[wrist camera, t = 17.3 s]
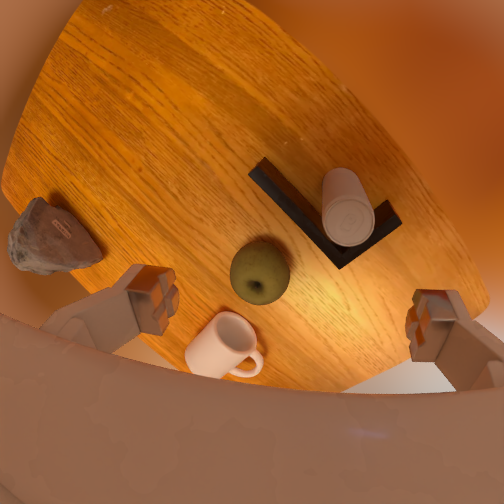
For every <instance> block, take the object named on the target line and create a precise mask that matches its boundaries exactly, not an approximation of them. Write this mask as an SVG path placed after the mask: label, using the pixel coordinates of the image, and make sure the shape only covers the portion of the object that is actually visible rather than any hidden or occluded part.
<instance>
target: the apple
mask: <svg viewBox="0 0 504 504" xmlns="http://www.w3.org/2000/svg"><path fill="white" fill-rule="evenodd" d="M289 279H290V271H289V266H288V264H287V262H286V259H285V258H284V256H283V255H282V253H281V252H280V251H279V250H278V249H277V248H276V247H275V246H274V245H272V244H270V243H267V242H253V243H250V244H247V245H245V246H244V247H242V248H241V249H240V250H239V251H238V252H237V253H236V255H235V256H234V258H233V261H232V264H231V268H230V281H231V285H232V287H233V289H234V291H235V292H236V293H237V295H238V296H239V297H241V298H242V299H243V300H245V301H246V302H248V303H251V304H254V305H266V304H270V303H272V302H274V301H276V300H277V299H279V298H280V297H281V296H282V295H283V293H284V292H285V291H286V289H287V287H288V284H289Z"/></svg>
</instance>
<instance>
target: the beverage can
mask: <svg viewBox="0 0 504 504" xmlns="http://www.w3.org/2000/svg"><path fill="white" fill-rule="evenodd" d="M322 222H323V227H324V229H325V232H326V233H327V235H328V237H329V238H330V239H331V240H332V241H334V242H335V243H336V244H339V245H342V246H348V247H349V246H356V245H359V244H361V243H363V242H364V241H366V240H367V239H368V238H369V236H370V235H371V233H372V231H373V229H374V224H375V217H374V212H373V209H372V206H371V204H370V202H369V200H368V197H367V195H366V193H365V191H364V189H363V187H362V185H361V182H360V180H359V178H358V177H357V175H356V174H355V173H354V172H352V171H351V170H349V169H347V168H335V169H333V170H331V171H329V172H328V173H327V174H326V175H325V177H324V179H323V182H322Z"/></svg>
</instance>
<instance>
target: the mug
mask: <svg viewBox="0 0 504 504" xmlns="http://www.w3.org/2000/svg"><path fill="white" fill-rule="evenodd" d="M256 346H257V337H256V334H255V331H254V329H253V328H252V326H251V325H250V324H249V322H248V321H247V320H246V319H244V318H243V317H242V316H240V315H238V314H236V313H233V312H229V311H224V312H220V313H218V314H217V315H216V316H215V317H214V318H213V319H212V320H211V321H210V322H209V323H208V324H207V325H206V327H205V328H204V329H203V330H202V331H201V332H200V333H199V334H198V335H197V336H196V337H195V338H194V340H193V341H192V342H191V343H190V344H189V345H188V346H187V348H186V351H185V360H186V363H187V365H188V367H189V369H190V370H191V371H192V372H193V373H194V374H196V375H201V376H206V377H212V378H217V379H220V378H221V377H222V376H224V375H225V374H226V373H228V372H229V373H231V374H233V375H236V376H239V377H253V376H255V375H257V374H258V373H259V372H260V371H261V369H262V367H263V357H262V355H261V354H260V353H259V352H258V351H257V350H256ZM248 356H250V357H251V358H252V359H254V361H255V362H256V364H257V366H256V367H255V368H254V369H252V370H250V371H245V370H241V369H239V368H237V367H235V366H237V365H238V364H239V363H240V362H242V361H243V360H244V359H245V358H247V357H248Z"/></svg>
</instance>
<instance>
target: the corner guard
mask: <svg viewBox="0 0 504 504" xmlns="http://www.w3.org/2000/svg"><path fill="white" fill-rule="evenodd" d="M248 175H249V176H250V177H251V178H252V179H253V180H254V181H255V182H256V183H257V184H258V185H259V186H260V187H261V188H262V189H263V190H264V191H265V192H266V193H267V194H268V195H269V196H270V197H271V198H272V199H273V200H274V202H275V203H276V204H277V205H278V206H279V207H280V208H281V209H282V210H283V211H284V212H285V213H286V214H287V215H288V216H289V217H290V218H291V219H292V220H293V221H294V222H295V223H296V224H297V225H298V226H299V227H300V228H301V229H302V230H303V231H304V233H305V234H306V235H307V236H308V237H309V238H310V239H311V240H312V241H313V242H314V243H315V244H316V245H317V246H318V247H319V248H320V249H321V251H322V252H323V253H324V254H325V255H326V256H327V257H328V258H329V259H330V260H331V261H332V262H333V264H334V265H335V266H336V267H337V268H338V269H339V270H340V269H341V268H343V267H344V266H345V265H347V264H348V263H350V262H351V261H352V260H354V259H355V258H357V257H358V256H359V255H361V254H362V253H364V252H365V251H366V250H368V249H369V248H370V247H372V246H373V245H375V244H376V243H377V242H379V241H380V240H381V239H383V238H384V237H385V236H387V235H388V234H389V233H391V232H392V231H393V230H395V229H396V228H397V227H399V226H400V225H401V224H402V221H401V220H400V218H399V216H398V214H397V213H396V211H395V209H394V208H393V206H392V205H391V204H390V202H389V201H388V200H386V201H385V202H383V203H382V204H381V205H380V206H378V207H377V208H376V209H374V210H373V212H374V217H375V224H374V229H373V231H372V233H371V235H370V236H369V238H368V239H367V240H366V241H364V242H363V243H361V244H359V245H356V246H349V247H348V246H342V245H339V244H336V243H335V242H334V241H332V240H331V239H330V238H329V237H328V235H327V233H326V232H325V229H324V227H323V222H322V216H321V215H320V214H319V213H318V212H317V211H316V210H315V209H314V208H313V206H312V205H311V204H310V203H309V202H308V201H307V200H306V199H305V198H304V197H303V196H302V195H301V194H300V193H299V192H298V190H297V189H296V188H295V187H294V186H293V185H292V184H291V183H290V182H289V181H288V180H287V179H286V178H285V177H284V176H283V175H282V174H281V173H280V172H279V171H278V170H277V169H276V168H275V167H274V166H273V165H272V164H271V163H270V162H269V161H268V160H267V159H266V158H265V157H264V158H263V159H262V160H261V161H260V162H259V163H257V164H256V166H255V167H254V168H253V169H252V170H251V171H250V172H249V174H248Z"/></svg>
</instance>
